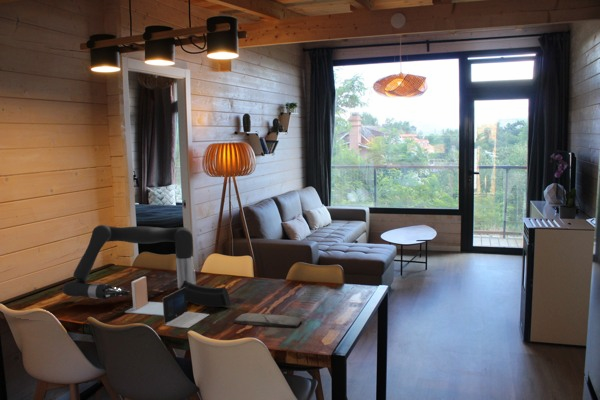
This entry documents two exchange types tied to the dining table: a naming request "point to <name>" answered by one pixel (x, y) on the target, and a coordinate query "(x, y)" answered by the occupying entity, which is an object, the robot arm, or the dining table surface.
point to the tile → (139, 293)
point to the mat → (149, 309)
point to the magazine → (206, 295)
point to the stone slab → (268, 320)
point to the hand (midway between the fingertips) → (129, 293)
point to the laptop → (179, 310)
